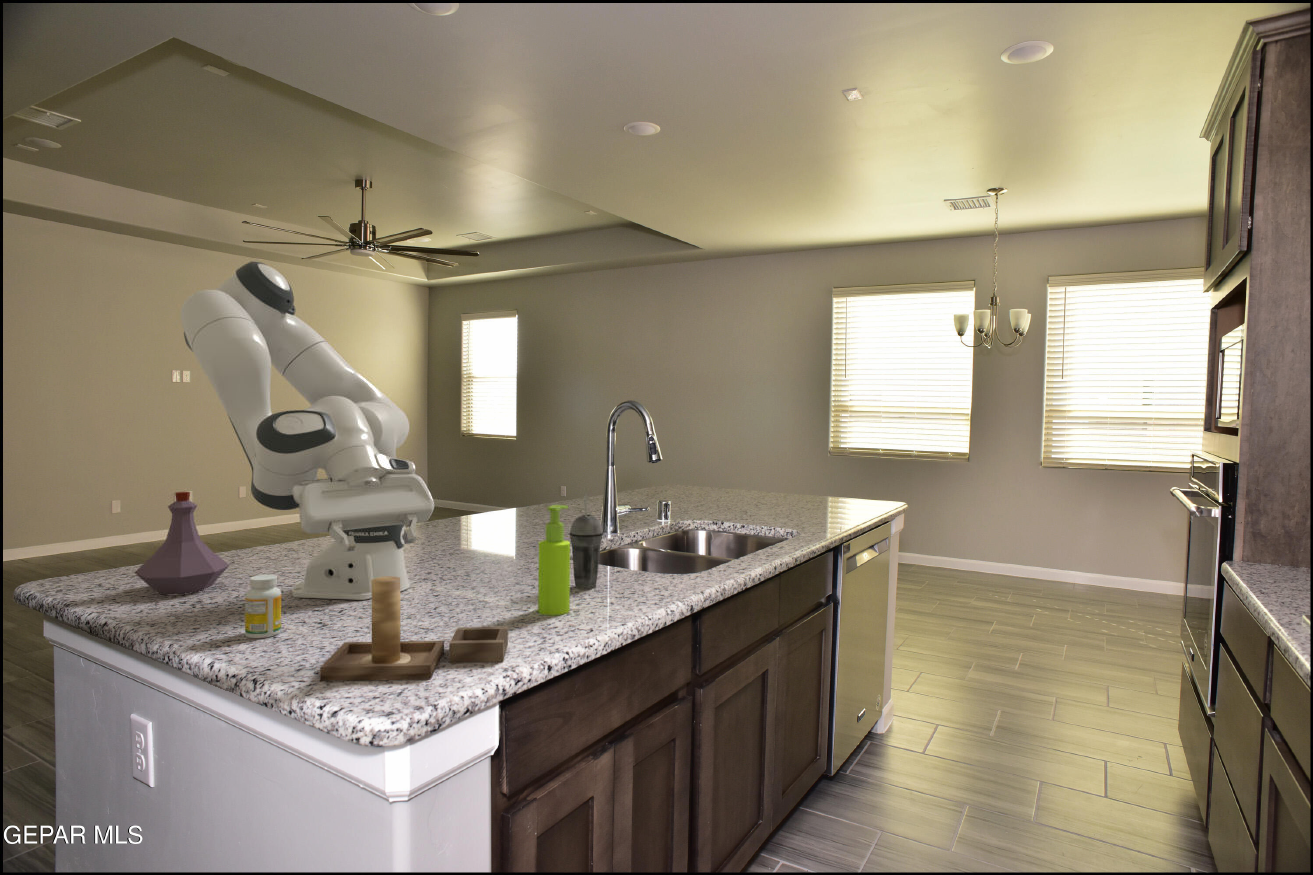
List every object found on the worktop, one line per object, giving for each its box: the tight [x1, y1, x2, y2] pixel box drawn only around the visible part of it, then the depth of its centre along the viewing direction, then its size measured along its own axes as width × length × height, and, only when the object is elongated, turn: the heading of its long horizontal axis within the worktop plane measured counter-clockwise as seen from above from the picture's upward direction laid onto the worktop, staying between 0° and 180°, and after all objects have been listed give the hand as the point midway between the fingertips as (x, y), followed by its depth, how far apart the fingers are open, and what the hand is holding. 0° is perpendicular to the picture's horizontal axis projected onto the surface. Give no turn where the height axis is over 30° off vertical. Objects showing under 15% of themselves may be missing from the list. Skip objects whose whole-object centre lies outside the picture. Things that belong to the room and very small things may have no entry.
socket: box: [448, 626, 509, 664], centre depth 116 cm, size 8×8×3 cm
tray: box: [319, 640, 445, 683], centre depth 110 cm, size 15×11×2 cm
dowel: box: [371, 576, 401, 664], centre depth 110 cm, size 4×4×12 cm
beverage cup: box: [568, 494, 604, 590], centre depth 159 cm, size 7×7×20 cm
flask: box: [134, 491, 230, 595], centre depth 152 cm, size 16×16×20 cm
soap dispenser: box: [537, 504, 571, 616], centre depth 141 cm, size 6×7×20 cm
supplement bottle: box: [244, 574, 282, 639], centre depth 124 cm, size 5×5×10 cm
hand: (381, 545), depth 114 cm, fingers open, 8 cm apart
